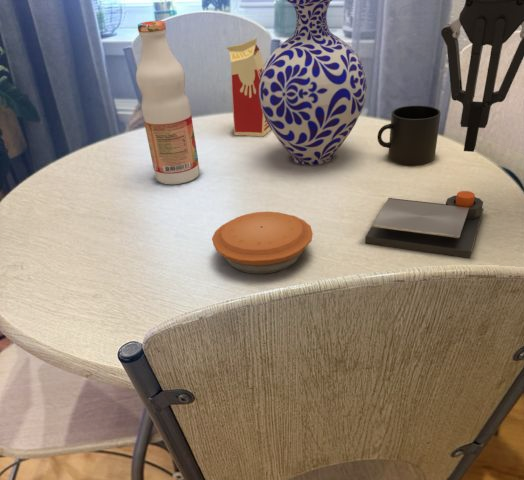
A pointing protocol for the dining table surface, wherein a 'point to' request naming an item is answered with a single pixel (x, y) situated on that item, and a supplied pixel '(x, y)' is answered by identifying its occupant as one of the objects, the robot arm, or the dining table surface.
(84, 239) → the dining table surface
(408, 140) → the mug
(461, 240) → the scale
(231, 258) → the pie
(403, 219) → the scale pan
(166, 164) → the fruit juice
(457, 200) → the tare button
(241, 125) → the milk carton
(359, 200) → the dining table surface
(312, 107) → the vase
